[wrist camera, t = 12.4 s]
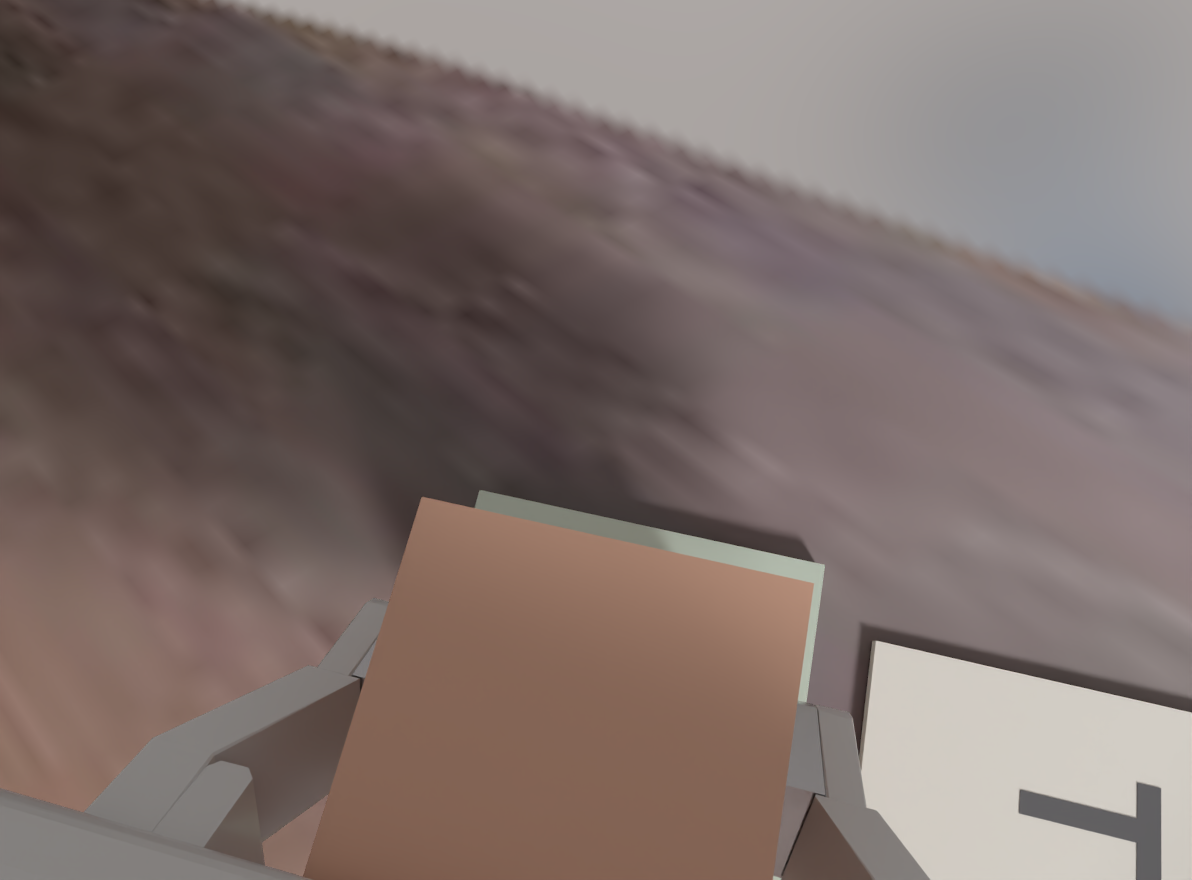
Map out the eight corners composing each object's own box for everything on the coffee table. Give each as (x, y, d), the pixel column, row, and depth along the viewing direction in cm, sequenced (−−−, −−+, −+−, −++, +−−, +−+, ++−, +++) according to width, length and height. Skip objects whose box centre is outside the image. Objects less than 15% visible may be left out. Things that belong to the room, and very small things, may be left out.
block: (477, 795, 16) (284, 935, 7) (530, 588, 17) (422, 496, 8) (684, 851, 15) (745, 1077, 6) (721, 633, 16) (814, 583, 8)
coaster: (380, 859, 17) (371, 866, 16) (484, 495, 20) (479, 489, 19) (763, 969, 16) (768, 980, 15) (819, 568, 19) (825, 565, 18)
